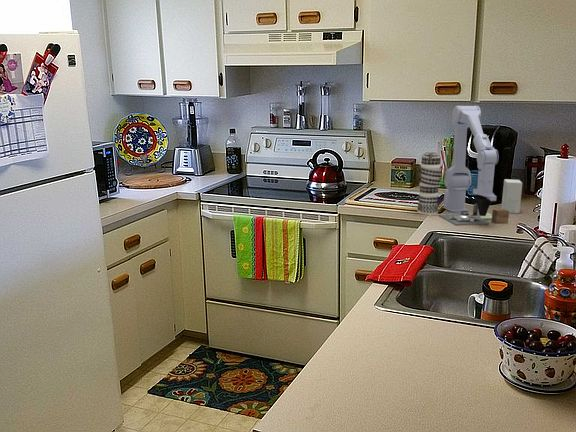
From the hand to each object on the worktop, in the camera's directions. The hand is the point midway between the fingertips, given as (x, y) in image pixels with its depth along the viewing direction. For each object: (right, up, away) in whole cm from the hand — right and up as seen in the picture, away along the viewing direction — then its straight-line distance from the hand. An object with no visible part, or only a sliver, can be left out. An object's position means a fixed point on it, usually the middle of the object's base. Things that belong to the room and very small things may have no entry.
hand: (482, 215), depth 238 cm
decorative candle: (-17, +1, +18) cm, 25 cm away
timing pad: (+5, -1, +11) cm, 12 cm away
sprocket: (-5, -2, +5) cm, 8 cm away
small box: (+19, +2, +22) cm, 29 cm away
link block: (+8, -3, +3) cm, 9 cm away
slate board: (-6, -2, +6) cm, 8 cm away
